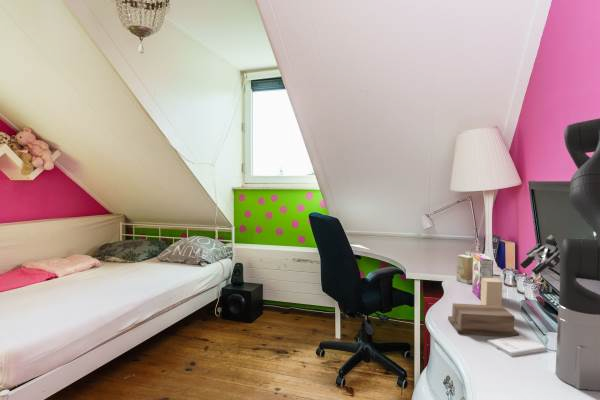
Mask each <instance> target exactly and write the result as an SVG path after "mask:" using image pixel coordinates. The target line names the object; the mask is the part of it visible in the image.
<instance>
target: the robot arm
mask: <svg viewBox="0 0 600 400" xmlns="http://www.w3.org/2000/svg"><path fill="white" fill-rule="evenodd" d="M563 138H564V145H565V148H566V150H567V152H568V154H569V156H570V158H571V159H572V161H573V163H574V165H575V166H576V168H577V170H576V171H575V173H574V174H573V175H572V177H571V179H570V182H569V197H568V199H569V203H570V205H571V207H572V208H573V209H574V210H575V213H576V212H577V213H578V214H579V215H580V216H581V217H582V218H583V219H584V220H585V221H586V222H587V223H588V224H589V225H590V226H591V227H592V228H593V230H592V231H594V233H595V235H596V236H597V239H588V238H583V239H579V238H566V239H564V240H563V241H562V243H561V246H560V250H558V248H557V247H556V245H557V243H556V241H555V239H554V237H553V236H552V235H551V233H550V234H549V235H547V237H545V239H544V241H545V244H544V245H542V244H541V243H537V244H535V246H533V247H532V248H531V249H530V250H529V251H527V252H526V253H525V255H526V258H524V259H523V260H522V261H521V262H520V263H519V265H520V266H521V268H522V269H527V267H529V266H531V264H532V263H533V262H535V261H540V262H539V263H537V264H536V265H535V266H534V267H532V268H531V271H532V273H533V274H535V275H539V274H540V273H542V272H543V271H544V270H545V269H548V268H551V269H553V268H555V266H557V265H558V264H559V293H558V312H557V328H556V329H557V331H556V332H557V333H556V351H555V352H556V353H555V375H556V377H557V378H558V379H560V380H561V381H563V382H564V383H567V384H569V385H570V386H573V387H574V388H575V389H577V390H585V389H588V390H589V391H598V390H600V294H599V293H597V292H595V291H592V290H590V289H588V288H586V287H585V286H583V285H582V284H580V283H579V282H578V281H577V279H580V280H587V281H588V280H589V281H597V282H600V118H593V119H590V120H584V121H579V122H574V123H570V124H567V125H566V127H565V128H564V133H563ZM588 153H589V154H590V153H593V154H592V155H591V157H590V156H589V155H588ZM588 390H587V391H588Z"/></svg>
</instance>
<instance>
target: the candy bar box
mask: <svg viewBox="0 0 600 400" xmlns="http://www.w3.org/2000/svg"><path fill="white" fill-rule="evenodd" d="M472 257H473V282H472V283H471V284H472V286H471V287H472V288H471V289H472V290H471V291H472V293H473V294H474V295H475V296H476V297H477V298H478V300H480V301H481V282H482V278H494V259H493V258H491V257H490V256H488V255H487V254H486V253H473V254H472Z"/></svg>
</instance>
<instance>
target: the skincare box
mask: <svg viewBox="0 0 600 400" xmlns="http://www.w3.org/2000/svg"><path fill="white" fill-rule="evenodd" d="M456 259H457V261H456V263H457V264H456V275H455V276H456V278H455V279H456V281H458V282H461V283H464V284H466V285H468V284H472V282H473V255H469V254H468V255H467V254H457V258H456Z"/></svg>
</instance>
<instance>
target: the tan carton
mask: <svg viewBox="0 0 600 400" xmlns="http://www.w3.org/2000/svg"><path fill="white" fill-rule="evenodd" d="M480 305H495V306H502V305H503V281H501V280H499V279H498V278H497V277H496V278H494V277H493V278H482V282H481V300H480ZM502 307H503V306H502Z"/></svg>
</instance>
